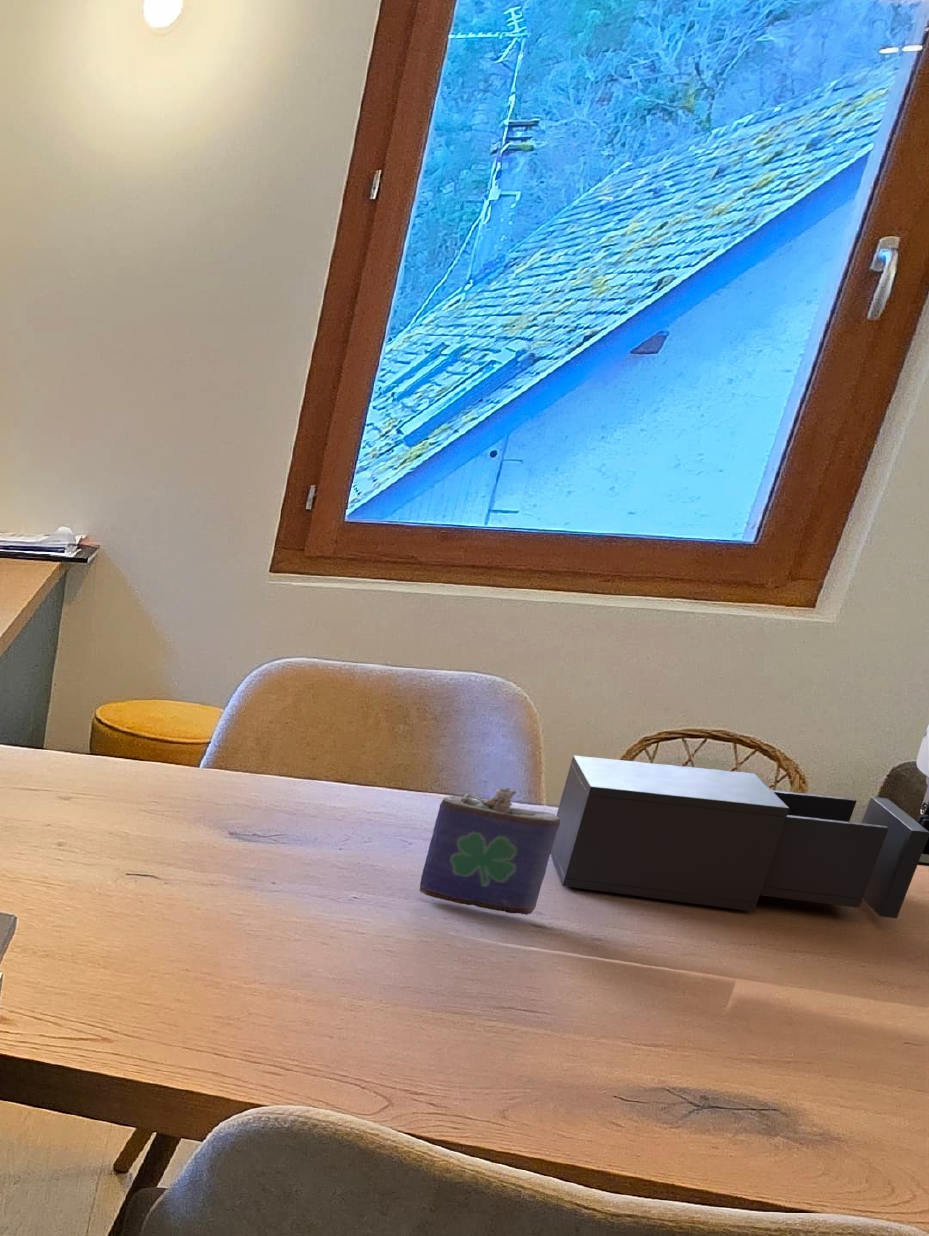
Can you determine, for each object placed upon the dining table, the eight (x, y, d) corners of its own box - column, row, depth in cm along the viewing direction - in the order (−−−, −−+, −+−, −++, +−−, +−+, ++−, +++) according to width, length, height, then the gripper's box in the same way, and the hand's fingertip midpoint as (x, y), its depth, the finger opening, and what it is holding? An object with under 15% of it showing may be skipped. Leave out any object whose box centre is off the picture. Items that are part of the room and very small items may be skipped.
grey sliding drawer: (937, 888, 125) (970, 806, 122) (984, 930, 115) (1020, 842, 112) (682, 857, 133) (707, 779, 130) (706, 893, 123) (734, 810, 120)
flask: (535, 908, 122) (569, 794, 117) (530, 919, 120) (564, 803, 115) (421, 884, 127) (448, 774, 122) (414, 894, 125) (441, 783, 120)
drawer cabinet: (723, 870, 132) (755, 773, 128) (754, 911, 122) (790, 808, 118) (547, 848, 138) (573, 755, 134) (562, 886, 128) (590, 786, 124)
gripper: (1112, 674, 105) (1018, 897, 112) (1033, 643, 118) (953, 846, 125) (986, 665, 108) (901, 883, 115) (922, 636, 121) (849, 834, 128)
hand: (928, 863), depth 120 cm, fingers closed
